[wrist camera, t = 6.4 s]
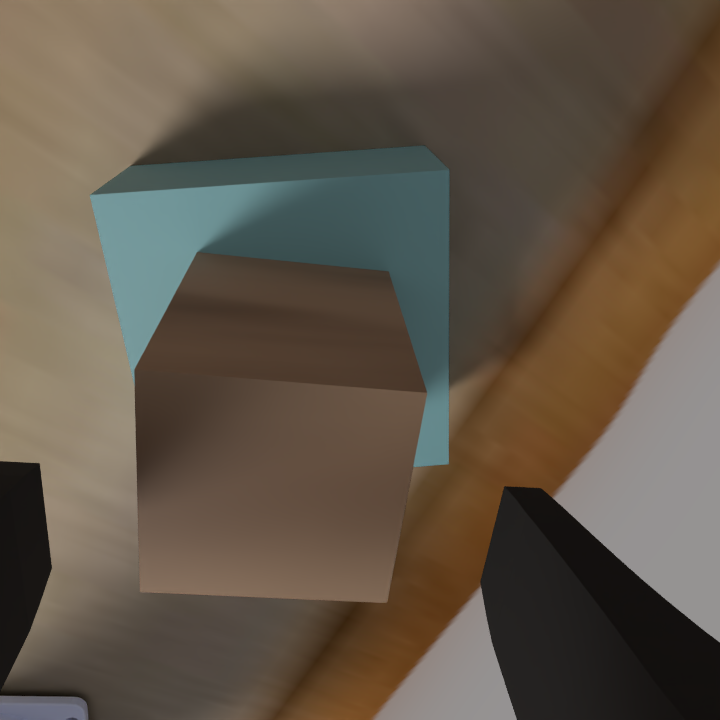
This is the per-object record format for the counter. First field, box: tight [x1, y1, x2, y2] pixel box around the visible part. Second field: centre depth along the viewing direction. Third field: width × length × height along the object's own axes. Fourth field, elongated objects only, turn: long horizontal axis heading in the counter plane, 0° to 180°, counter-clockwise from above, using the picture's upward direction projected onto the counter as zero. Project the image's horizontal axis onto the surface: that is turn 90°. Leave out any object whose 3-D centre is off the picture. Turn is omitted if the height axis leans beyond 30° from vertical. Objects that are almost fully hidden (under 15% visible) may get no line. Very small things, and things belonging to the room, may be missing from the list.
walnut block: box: [134, 252, 427, 603], centre depth 14 cm, size 4×4×6 cm
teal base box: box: [90, 145, 449, 467], centre depth 18 cm, size 8×8×4 cm
